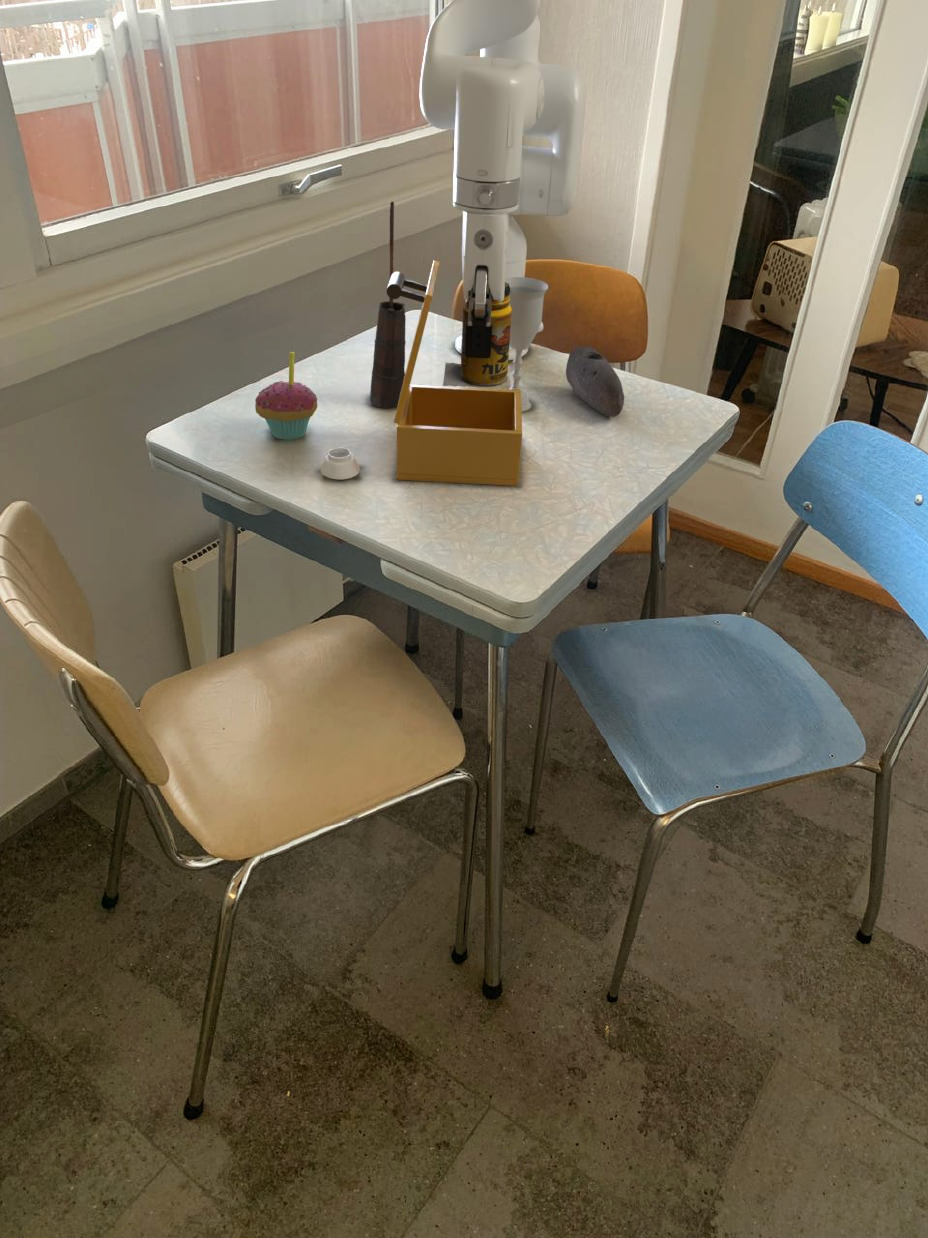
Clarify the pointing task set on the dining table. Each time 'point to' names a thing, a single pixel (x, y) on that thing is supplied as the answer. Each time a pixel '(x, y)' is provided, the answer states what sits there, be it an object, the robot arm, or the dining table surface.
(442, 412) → the open wooden box
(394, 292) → the lid
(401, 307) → the butter churn
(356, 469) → the white jar
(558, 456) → the dining table surface
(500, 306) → the condiment
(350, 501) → the dining table surface
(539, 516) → the dining table surface
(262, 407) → the cupcake
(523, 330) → the chalice
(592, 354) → the perforated stone tool
